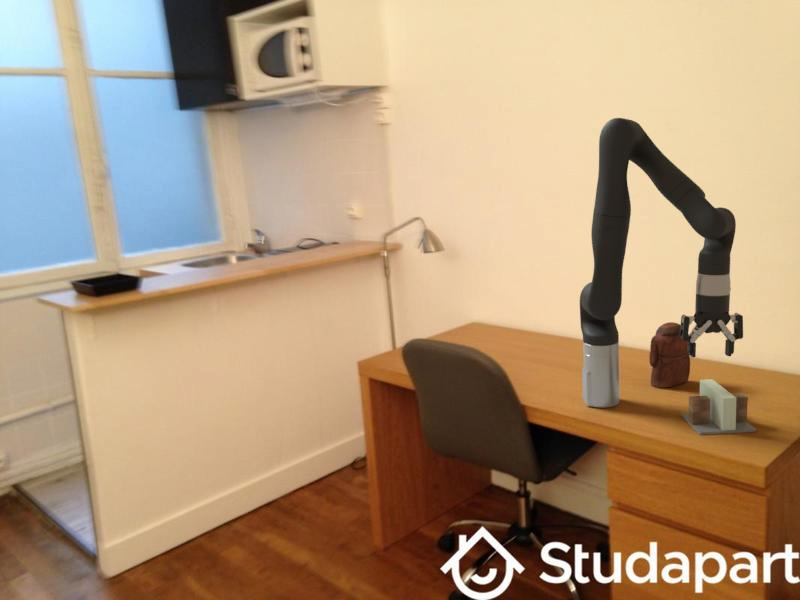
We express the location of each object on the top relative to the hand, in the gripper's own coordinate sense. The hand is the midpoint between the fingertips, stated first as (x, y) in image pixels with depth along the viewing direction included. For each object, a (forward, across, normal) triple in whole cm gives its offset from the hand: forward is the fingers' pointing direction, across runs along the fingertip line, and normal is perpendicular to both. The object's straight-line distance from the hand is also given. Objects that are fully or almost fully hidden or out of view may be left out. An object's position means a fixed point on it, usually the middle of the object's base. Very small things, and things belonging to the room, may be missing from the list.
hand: (710, 356), depth 170 cm
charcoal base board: (+16, -1, +4) cm, 17 cm away
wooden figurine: (+16, +1, -27) cm, 32 cm away
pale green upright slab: (+15, -1, +3) cm, 16 cm away
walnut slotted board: (+16, -1, +4) cm, 17 cm away
